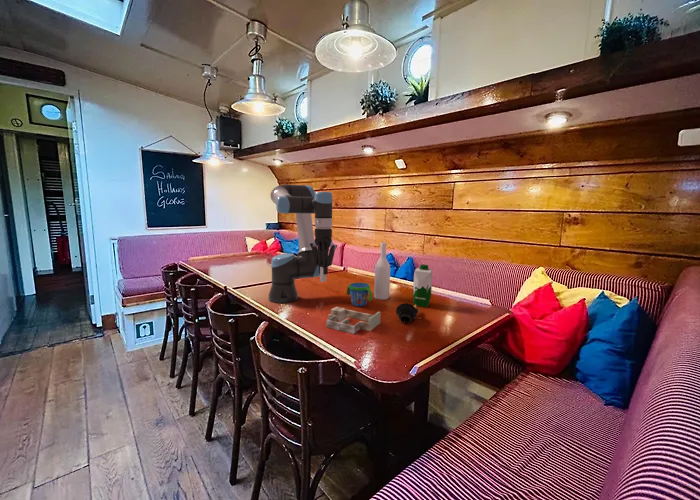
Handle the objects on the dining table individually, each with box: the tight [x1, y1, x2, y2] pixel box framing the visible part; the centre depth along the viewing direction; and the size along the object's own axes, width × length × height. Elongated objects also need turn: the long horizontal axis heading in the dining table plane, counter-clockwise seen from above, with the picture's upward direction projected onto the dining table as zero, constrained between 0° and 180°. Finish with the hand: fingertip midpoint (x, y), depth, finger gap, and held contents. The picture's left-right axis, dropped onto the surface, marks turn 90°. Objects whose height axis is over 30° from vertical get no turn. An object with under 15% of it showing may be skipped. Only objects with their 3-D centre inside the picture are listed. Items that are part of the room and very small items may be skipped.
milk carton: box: [412, 264, 433, 308], centre depth 155 cm, size 9×9×20 cm
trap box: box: [325, 308, 381, 335], centre depth 129 cm, size 20×16×5 cm
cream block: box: [330, 306, 346, 322], centre depth 135 cm, size 4×4×4 cm
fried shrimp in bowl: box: [395, 302, 420, 324], centre depth 137 cm, size 9×11×18 cm
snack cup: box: [346, 282, 373, 307], centre depth 154 cm, size 16×10×10 cm
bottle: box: [373, 241, 391, 301], centre depth 165 cm, size 8×8×30 cm
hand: (323, 281), depth 137 cm, fingers closed
